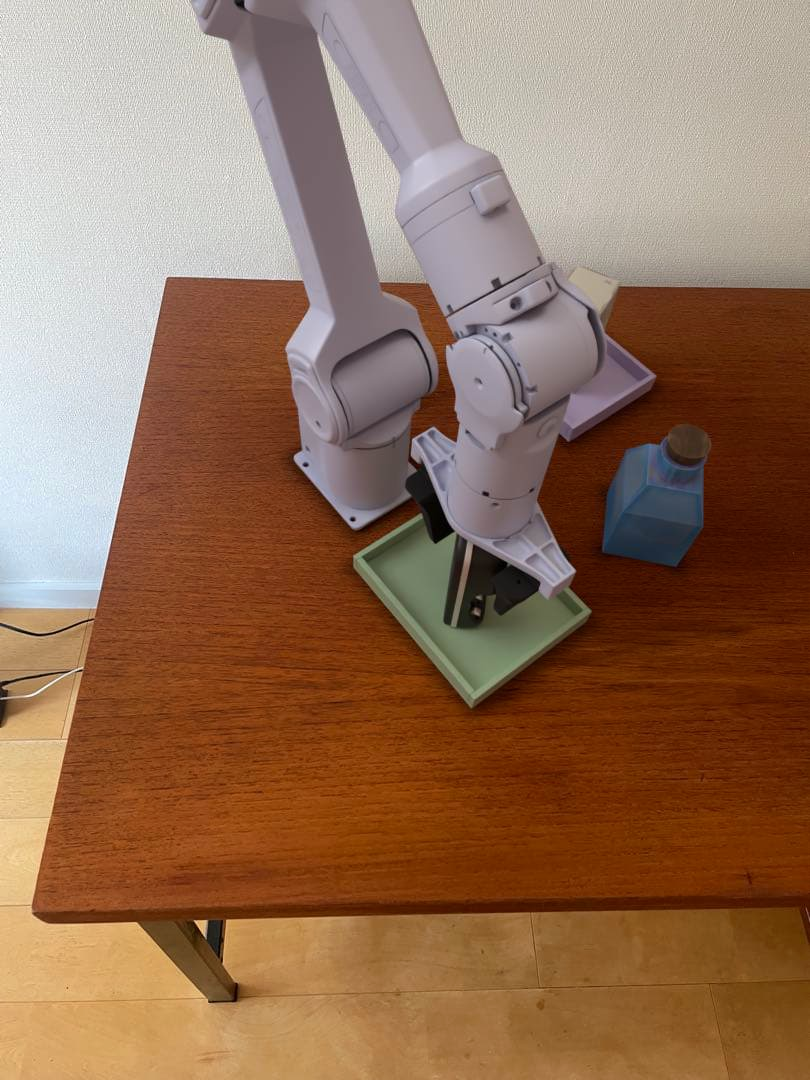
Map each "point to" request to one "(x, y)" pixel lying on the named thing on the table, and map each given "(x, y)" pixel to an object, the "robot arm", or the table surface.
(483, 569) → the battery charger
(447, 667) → the sage tray
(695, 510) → the perfume bottle
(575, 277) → the cream cardboard box
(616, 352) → the lavender tray
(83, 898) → the table surface
